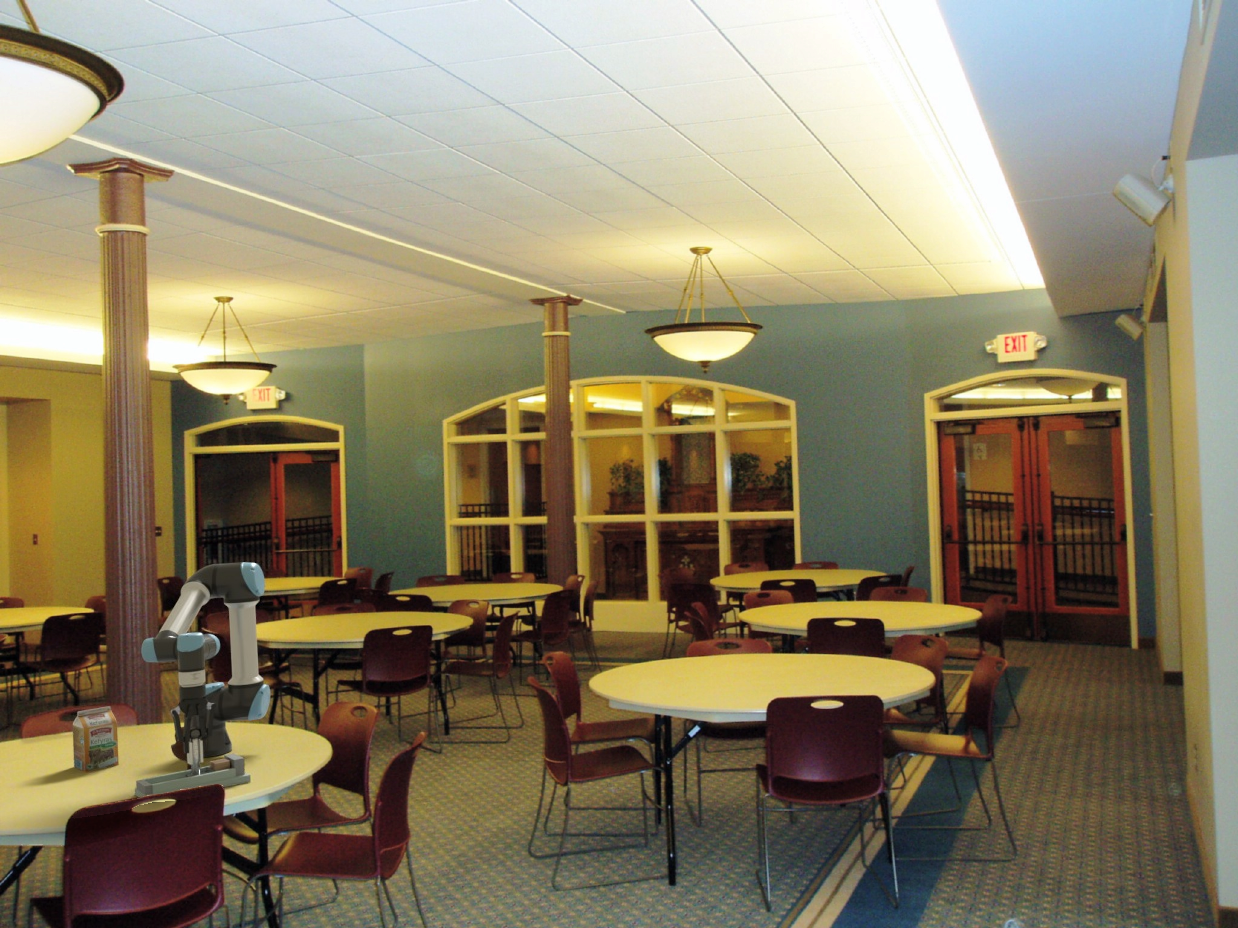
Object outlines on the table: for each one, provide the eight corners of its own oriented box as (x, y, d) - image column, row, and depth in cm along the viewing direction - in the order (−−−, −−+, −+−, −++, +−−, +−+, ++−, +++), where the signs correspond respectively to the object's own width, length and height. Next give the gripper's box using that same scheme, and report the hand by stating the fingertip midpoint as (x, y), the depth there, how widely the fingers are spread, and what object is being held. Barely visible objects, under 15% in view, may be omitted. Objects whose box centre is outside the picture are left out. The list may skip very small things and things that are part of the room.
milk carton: (107, 760, 368) (105, 704, 369) (118, 764, 361) (116, 707, 361) (74, 766, 361) (71, 709, 361) (85, 771, 353) (82, 713, 354)
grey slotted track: (134, 794, 322) (133, 770, 322) (235, 773, 341) (234, 751, 341) (147, 803, 312) (146, 778, 312) (250, 781, 330) (249, 758, 331)
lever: (185, 779, 328) (183, 727, 328) (209, 774, 332) (207, 723, 333) (192, 783, 323) (190, 730, 323) (216, 778, 327) (214, 726, 328)
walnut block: (210, 775, 332) (209, 761, 332) (225, 772, 334) (224, 758, 335) (215, 778, 328) (214, 763, 328) (230, 775, 331) (229, 760, 331)
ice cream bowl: (186, 779, 337) (185, 731, 337) (164, 775, 342) (162, 728, 343) (215, 771, 346) (213, 723, 346) (193, 767, 351) (191, 721, 352)
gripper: (169, 689, 320) (172, 769, 319) (222, 682, 329) (225, 759, 329) (162, 687, 325) (165, 765, 325) (214, 679, 335) (217, 755, 335)
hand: (195, 762), depth 327 cm, fingers closed on lever, 2 cm apart
